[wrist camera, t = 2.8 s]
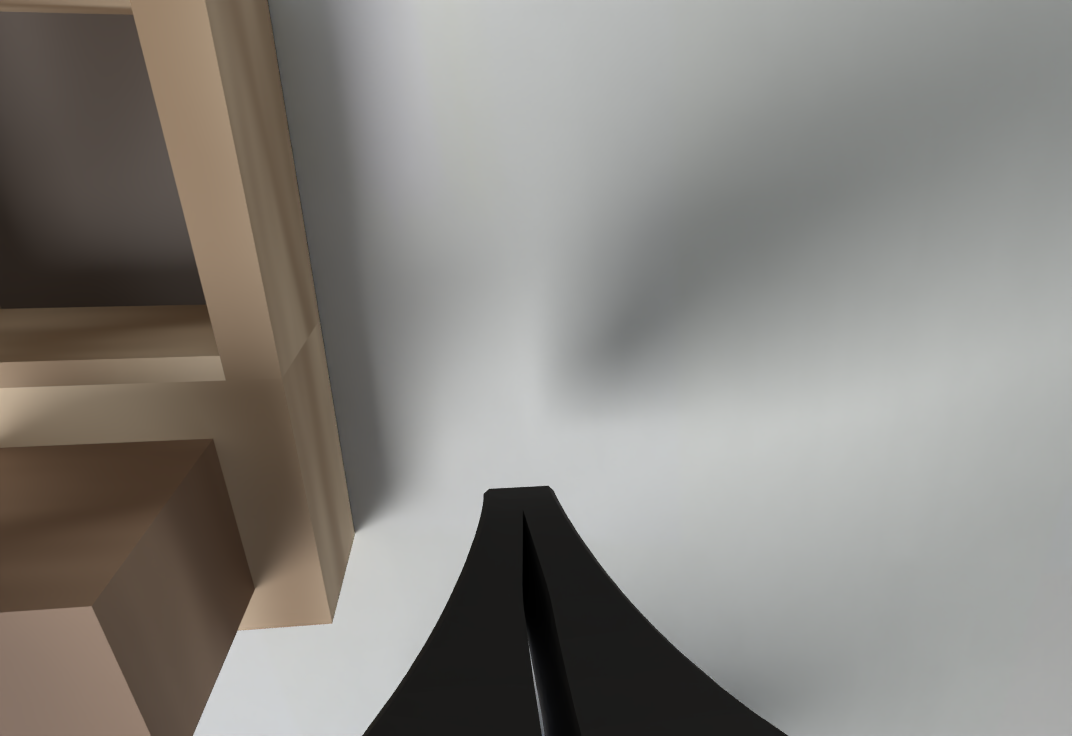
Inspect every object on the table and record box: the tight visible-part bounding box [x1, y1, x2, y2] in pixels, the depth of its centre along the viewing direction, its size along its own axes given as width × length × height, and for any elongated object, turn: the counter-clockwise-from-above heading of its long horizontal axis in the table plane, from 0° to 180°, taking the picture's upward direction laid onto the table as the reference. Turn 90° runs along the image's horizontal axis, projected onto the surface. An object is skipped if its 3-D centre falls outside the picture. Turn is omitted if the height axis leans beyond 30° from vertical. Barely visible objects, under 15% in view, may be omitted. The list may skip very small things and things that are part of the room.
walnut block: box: [0, 439, 255, 736], centre depth 10 cm, size 4×4×4 cm
